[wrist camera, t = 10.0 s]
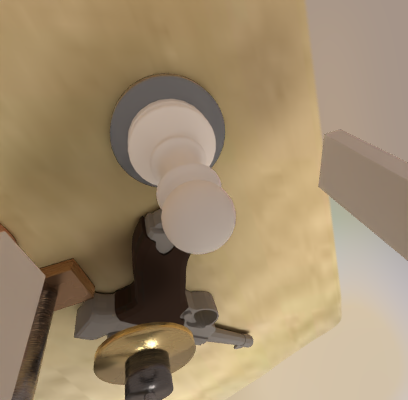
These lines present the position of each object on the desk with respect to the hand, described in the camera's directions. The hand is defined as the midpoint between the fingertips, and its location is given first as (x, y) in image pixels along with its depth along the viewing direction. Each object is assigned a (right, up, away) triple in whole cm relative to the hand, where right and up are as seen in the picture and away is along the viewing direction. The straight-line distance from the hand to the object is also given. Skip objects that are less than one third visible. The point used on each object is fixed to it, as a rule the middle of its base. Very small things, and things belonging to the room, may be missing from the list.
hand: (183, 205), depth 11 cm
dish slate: (-1, +5, +6) cm, 8 cm away
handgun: (+1, -9, +18) cm, 20 cm away
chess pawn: (-1, +4, +5) cm, 7 cm away
